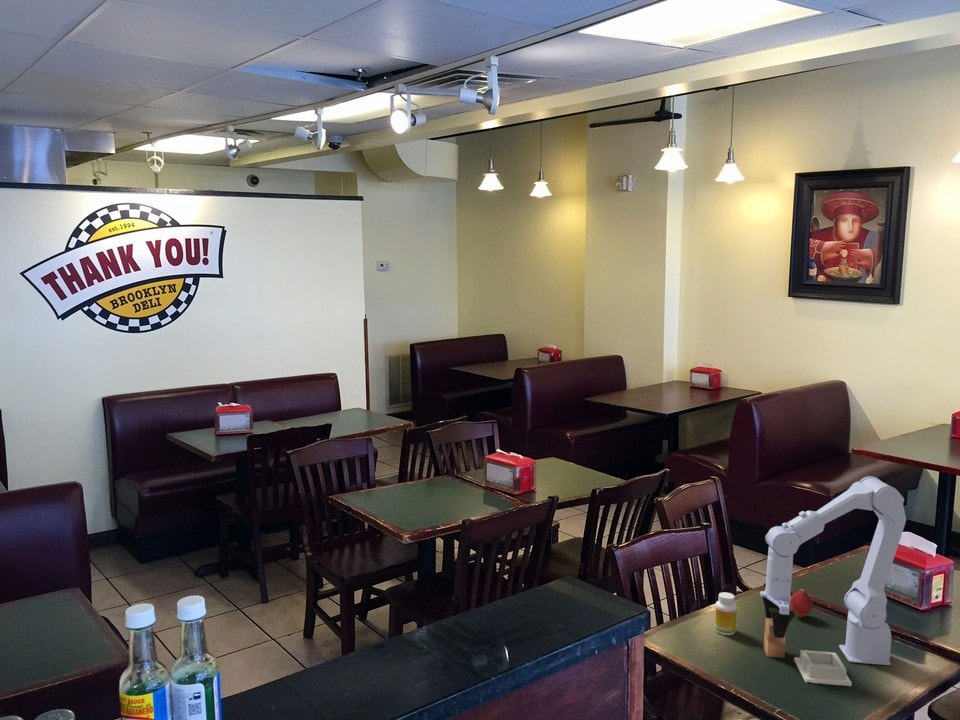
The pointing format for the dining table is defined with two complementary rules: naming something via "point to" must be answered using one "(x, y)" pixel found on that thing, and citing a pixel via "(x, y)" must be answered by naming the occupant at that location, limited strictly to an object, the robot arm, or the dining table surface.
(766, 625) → the peg
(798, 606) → the onion
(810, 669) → the socket
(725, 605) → the supplement bottle
